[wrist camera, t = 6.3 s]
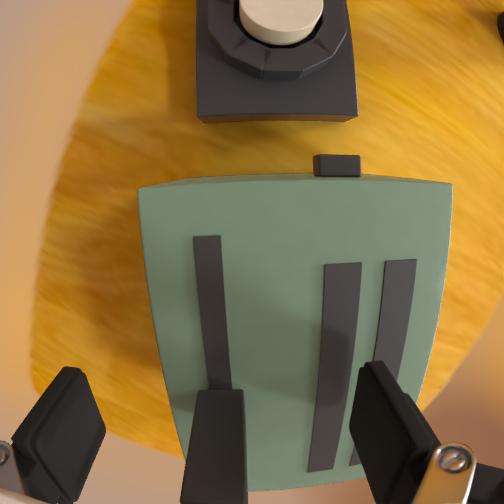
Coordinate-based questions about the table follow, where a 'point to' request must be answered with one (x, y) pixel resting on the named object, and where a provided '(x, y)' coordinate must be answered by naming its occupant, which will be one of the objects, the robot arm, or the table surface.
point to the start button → (280, 19)
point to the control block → (273, 69)
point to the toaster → (294, 301)
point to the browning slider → (217, 450)
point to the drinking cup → (501, 25)
